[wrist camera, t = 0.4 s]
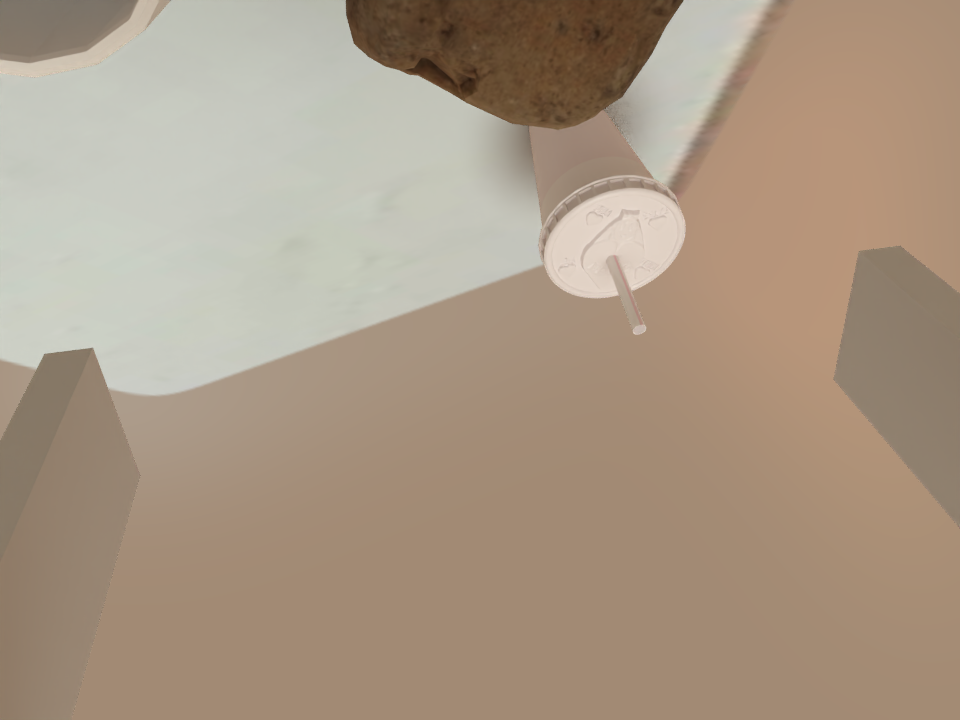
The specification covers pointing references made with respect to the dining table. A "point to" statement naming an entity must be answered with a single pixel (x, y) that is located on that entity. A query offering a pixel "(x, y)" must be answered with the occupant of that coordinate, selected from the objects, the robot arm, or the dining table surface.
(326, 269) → the dining table surface
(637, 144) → the dining table surface
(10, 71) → the white ceramic vase
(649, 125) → the dining table surface
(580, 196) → the smoothie
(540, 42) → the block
